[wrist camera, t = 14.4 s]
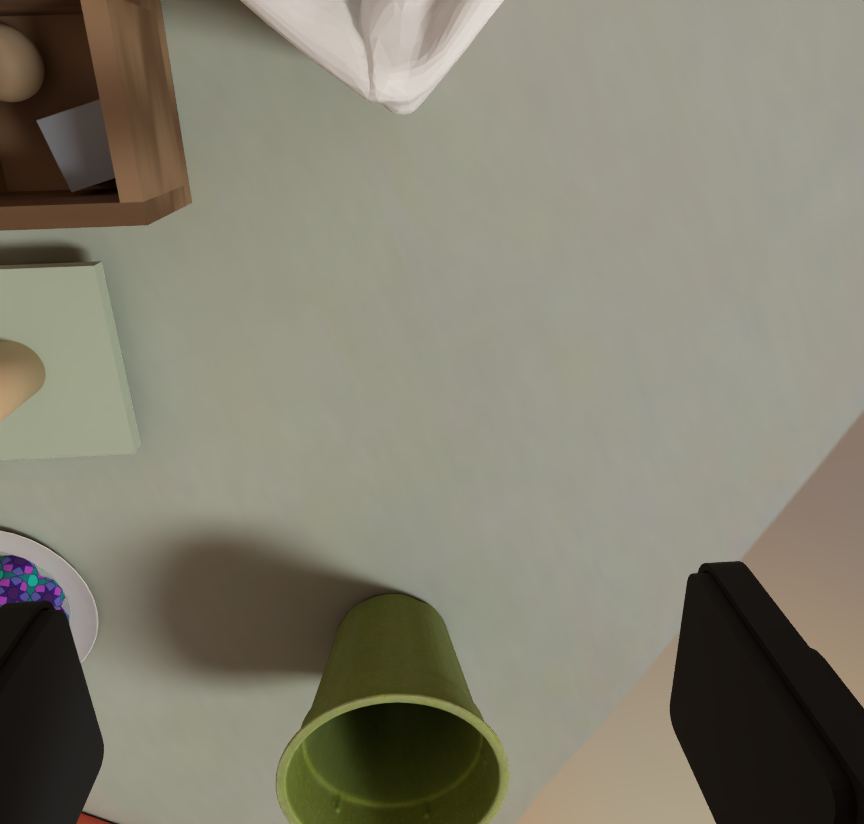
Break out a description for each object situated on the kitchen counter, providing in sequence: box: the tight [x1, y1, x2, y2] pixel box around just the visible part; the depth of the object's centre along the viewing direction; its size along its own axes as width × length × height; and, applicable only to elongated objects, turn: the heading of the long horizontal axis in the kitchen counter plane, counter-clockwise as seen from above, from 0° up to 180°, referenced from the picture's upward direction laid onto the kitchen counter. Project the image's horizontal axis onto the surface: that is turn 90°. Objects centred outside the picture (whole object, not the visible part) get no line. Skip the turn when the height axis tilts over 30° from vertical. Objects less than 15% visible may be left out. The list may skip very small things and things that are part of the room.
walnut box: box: [0, 0, 192, 230], centre depth 30 cm, size 9×9×7 cm
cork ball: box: [0, 23, 45, 102], centre depth 30 cm, size 3×3×3 cm
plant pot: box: [276, 594, 509, 824], centre depth 41 cm, size 12×12×11 cm
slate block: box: [37, 99, 115, 192], centre depth 31 cm, size 3×3×3 cm
